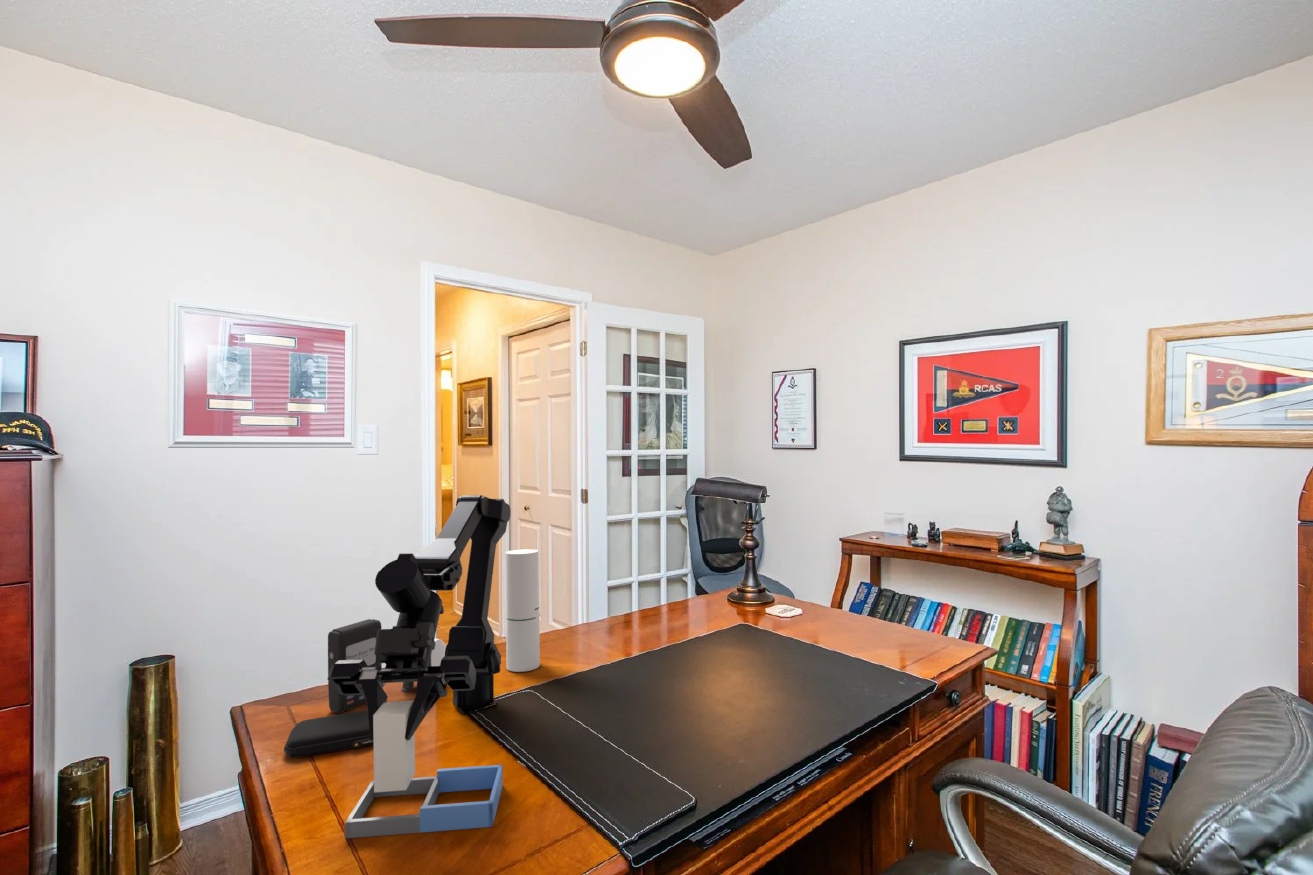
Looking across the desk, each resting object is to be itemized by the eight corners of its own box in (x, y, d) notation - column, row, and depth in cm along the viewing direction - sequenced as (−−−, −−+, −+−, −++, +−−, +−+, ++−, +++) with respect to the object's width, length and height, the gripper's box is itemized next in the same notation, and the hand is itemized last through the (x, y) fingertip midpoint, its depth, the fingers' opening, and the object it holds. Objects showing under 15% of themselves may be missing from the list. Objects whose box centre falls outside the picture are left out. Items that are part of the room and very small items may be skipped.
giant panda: (426, 672, 128) (426, 628, 128) (450, 674, 126) (449, 629, 127) (382, 702, 113) (381, 652, 113) (408, 704, 112) (407, 654, 112)
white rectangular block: (384, 775, 81) (383, 701, 81) (415, 772, 82) (414, 700, 82) (374, 792, 77) (373, 715, 77) (406, 789, 78) (405, 713, 78)
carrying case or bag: (279, 768, 91) (384, 749, 97) (279, 748, 91) (384, 730, 97) (293, 736, 101) (388, 720, 107) (293, 718, 101) (387, 703, 107)
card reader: (338, 716, 108) (338, 633, 108) (325, 711, 110) (325, 630, 110) (383, 697, 116) (383, 620, 116) (370, 693, 118) (370, 617, 118)
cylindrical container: (545, 662, 133) (544, 549, 134) (529, 672, 126) (528, 554, 127) (517, 659, 135) (516, 548, 136) (500, 670, 128) (499, 553, 129)
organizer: (345, 838, 74) (345, 814, 74) (371, 794, 83) (371, 773, 83) (492, 826, 76) (492, 803, 76) (502, 785, 86) (502, 764, 86)
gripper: (333, 602, 82) (291, 720, 71) (471, 598, 84) (450, 713, 73) (357, 640, 90) (323, 751, 79) (483, 636, 91) (466, 744, 80)
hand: (389, 739), depth 78 cm, fingers closed on white rectangular block, 4 cm apart
